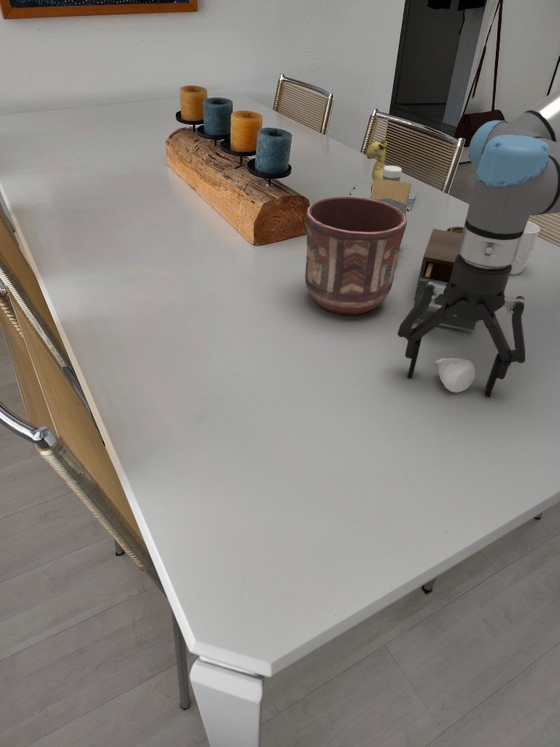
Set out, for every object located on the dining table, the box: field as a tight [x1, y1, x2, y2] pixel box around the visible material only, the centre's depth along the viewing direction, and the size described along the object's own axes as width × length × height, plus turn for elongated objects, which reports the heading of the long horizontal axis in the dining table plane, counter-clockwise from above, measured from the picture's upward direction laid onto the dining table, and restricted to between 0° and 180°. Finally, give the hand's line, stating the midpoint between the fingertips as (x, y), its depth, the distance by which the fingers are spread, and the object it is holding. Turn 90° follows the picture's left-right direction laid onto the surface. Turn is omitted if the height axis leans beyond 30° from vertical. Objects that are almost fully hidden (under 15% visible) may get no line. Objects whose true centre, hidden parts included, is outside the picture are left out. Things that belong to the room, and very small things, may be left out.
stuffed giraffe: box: [366, 137, 416, 209], centre depth 151 cm, size 16×18×16 cm
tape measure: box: [446, 226, 464, 233], centre depth 129 cm, size 7×7×4 cm
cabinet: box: [413, 228, 462, 302], centre depth 110 cm, size 15×13×10 cm
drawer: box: [413, 262, 477, 331], centre depth 102 cm, size 18×11×8 cm, turn 160°
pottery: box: [304, 196, 408, 316], centre depth 102 cm, size 18×18×18 cm
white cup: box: [510, 220, 541, 276], centre depth 119 cm, size 8×8×10 cm
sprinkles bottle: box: [383, 165, 403, 182], centre depth 138 cm, size 5×5×13 cm
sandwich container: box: [370, 179, 412, 269], centre depth 120 cm, size 9×15×15 cm, turn 166°
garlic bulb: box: [434, 357, 477, 393], centre depth 86 cm, size 6×6×5 cm
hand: (448, 382), depth 88 cm, fingers open, 11 cm apart
